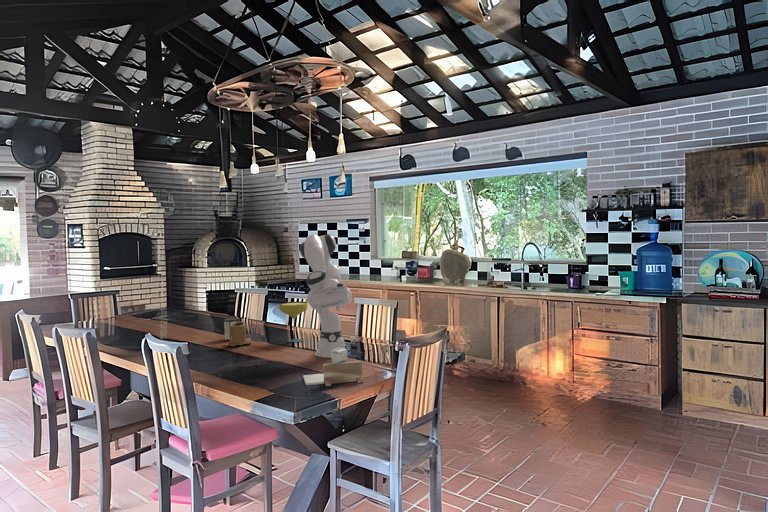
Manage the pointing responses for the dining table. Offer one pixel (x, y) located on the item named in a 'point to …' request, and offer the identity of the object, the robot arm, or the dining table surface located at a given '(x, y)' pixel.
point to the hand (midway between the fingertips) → (329, 311)
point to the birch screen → (342, 372)
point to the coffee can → (227, 325)
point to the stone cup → (238, 334)
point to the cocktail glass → (293, 312)
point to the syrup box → (338, 355)
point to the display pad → (314, 379)
